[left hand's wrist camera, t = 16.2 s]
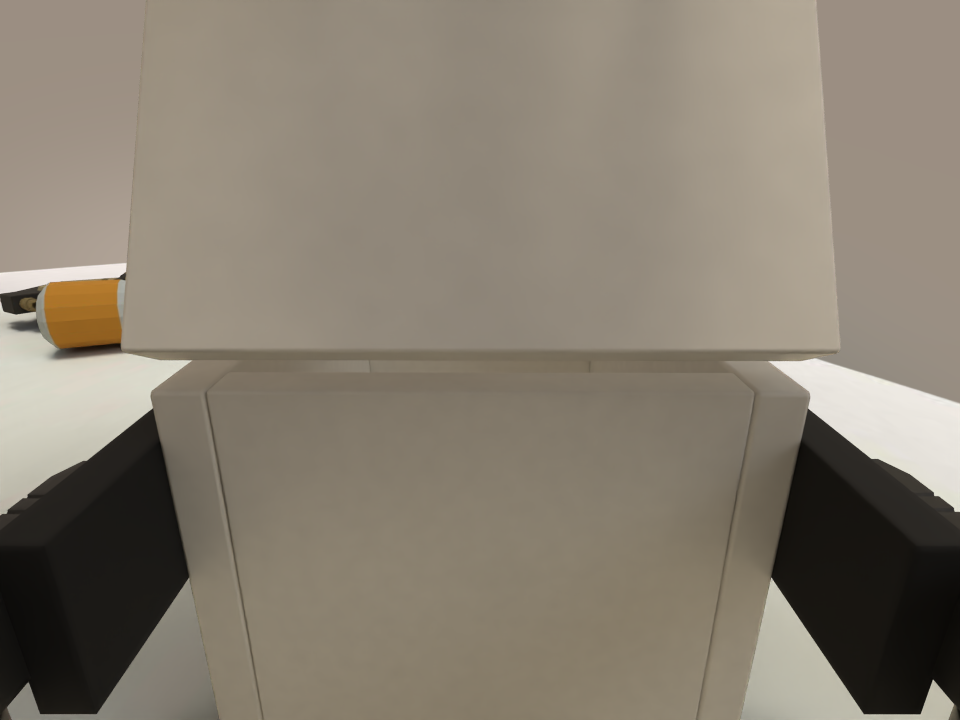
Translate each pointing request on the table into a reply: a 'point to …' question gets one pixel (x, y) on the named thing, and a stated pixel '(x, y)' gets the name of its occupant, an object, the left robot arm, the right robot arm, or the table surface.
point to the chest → (479, 533)
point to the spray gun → (74, 310)
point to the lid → (481, 182)
